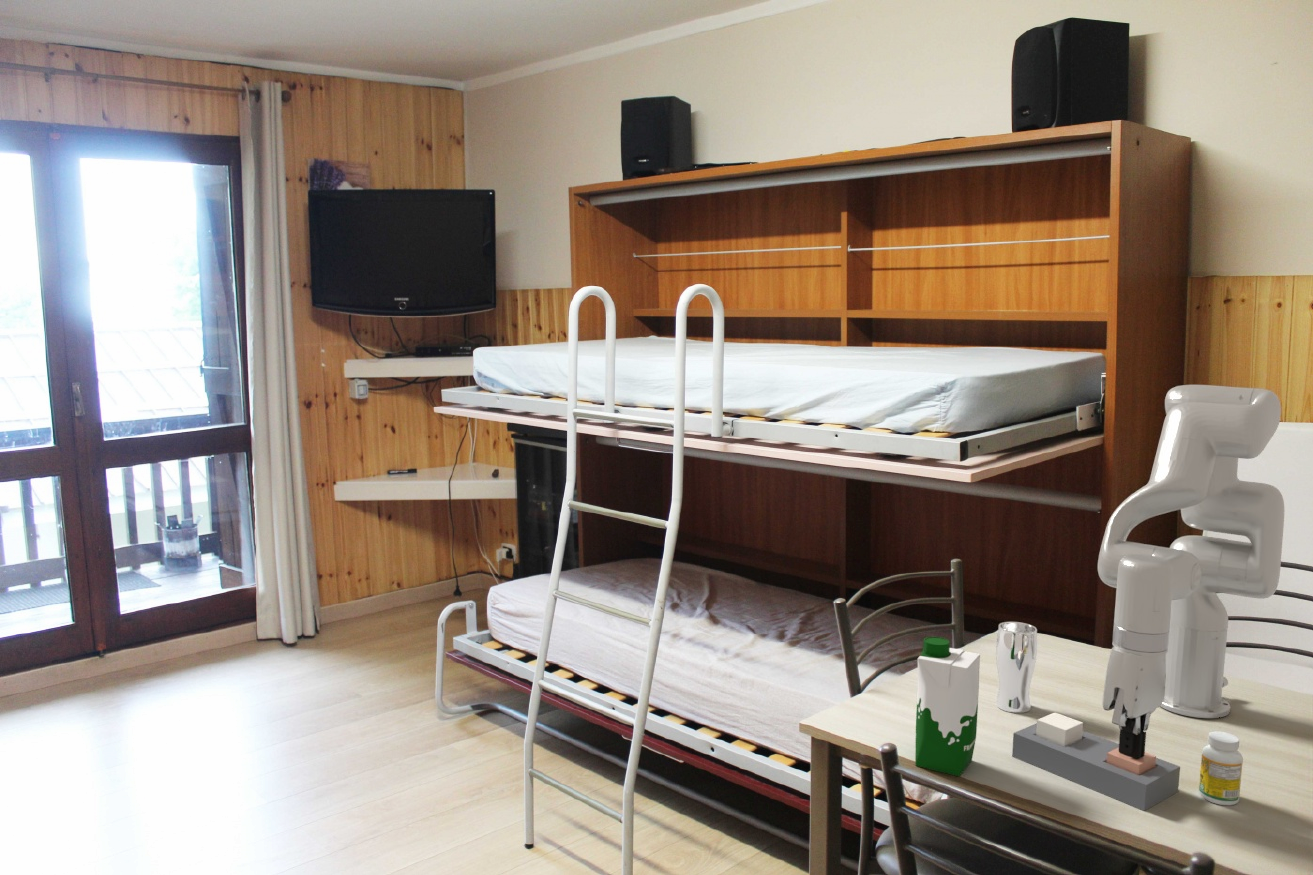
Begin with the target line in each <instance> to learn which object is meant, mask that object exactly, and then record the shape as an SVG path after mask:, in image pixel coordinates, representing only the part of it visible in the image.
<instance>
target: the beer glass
mask: <svg viewBox="0 0 1313 875" xmlns="http://www.w3.org/2000/svg"><path fill="white" fill-rule="evenodd" d="M997 630H998V631H997V636H996V637H997V638H996V644H995V656H996V658H995V659H996V667H997V674H998V676H997V677H998V691H997V696H996V699H995V706H996V707H997V708H998V709H1000V710H1002V711H1005V712H1008V713H1012V714H1023V713H1024V714H1025V713H1028V712H1029V711H1030V710H1032V709H1031V708H1032V706H1031V698H1030V688H1031V683H1032V679H1033V674H1034V671H1035V667H1036V663H1037V655H1038V629H1037V627H1036V626H1034V625H1032V624H1029V623H1025V622H1019V621H1004V622H1000V623H999V624H998V629H997Z"/></svg>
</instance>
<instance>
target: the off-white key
mask: <svg viewBox="0 0 1313 875" xmlns="http://www.w3.org/2000/svg"><path fill="white" fill-rule="evenodd" d="M1036 723H1037V730H1036V736H1038V737H1041V738H1044V739H1046V740H1049V741H1051V742H1054V743H1057V744H1059V745H1062V746H1064V747H1066V746H1069V745H1071V744H1073V743H1075V742H1077V741H1079V740H1082V731H1084V722H1082V721H1080V720H1077V719H1074V718H1071V717H1069V716H1065V715H1063V714H1061V713H1058V712H1053V713H1050V714H1048V715H1045V716H1042V717H1041V718H1038V719H1037V720H1036Z"/></svg>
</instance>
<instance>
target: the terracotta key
mask: <svg viewBox="0 0 1313 875" xmlns="http://www.w3.org/2000/svg"><path fill="white" fill-rule="evenodd" d="M1156 758H1157V756H1156V755H1154V754H1151V753H1149V752H1146V751H1145V754H1144V756H1143V757H1142V758H1140V759H1134V758H1132V757H1129V756H1126V755H1124V754H1121V753H1120V752H1119V747H1118V748H1116V749H1114V750H1112V751H1110V752H1108V753H1107V762H1106V763H1108V764H1111V765H1113V766H1116V767H1119V768H1121V769H1124V770H1126V771H1129V772H1131V773H1134V774H1137V775H1139V776H1140V775H1142V774H1144V773H1146V772H1148V771H1149V770H1151V769H1153V768H1155V765H1156Z"/></svg>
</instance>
